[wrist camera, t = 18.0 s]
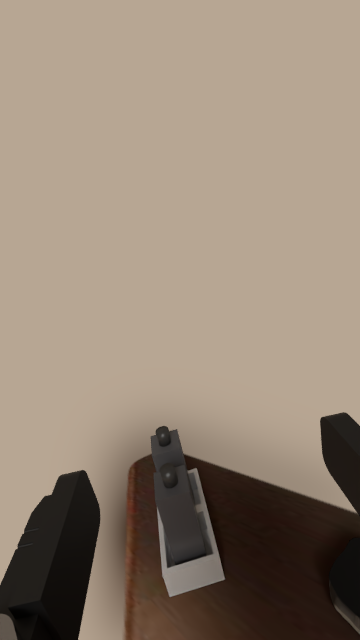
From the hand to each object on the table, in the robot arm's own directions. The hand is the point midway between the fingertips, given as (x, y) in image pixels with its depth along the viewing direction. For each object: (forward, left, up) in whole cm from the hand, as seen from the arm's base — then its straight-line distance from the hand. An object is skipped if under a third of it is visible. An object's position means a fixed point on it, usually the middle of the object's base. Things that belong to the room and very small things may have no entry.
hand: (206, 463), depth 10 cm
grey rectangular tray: (-7, -23, -35) cm, 42 cm away
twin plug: (-9, -26, -34) cm, 44 cm away
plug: (-6, -20, -34) cm, 40 cm away
